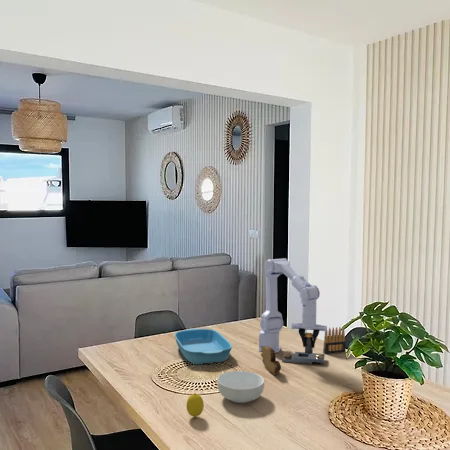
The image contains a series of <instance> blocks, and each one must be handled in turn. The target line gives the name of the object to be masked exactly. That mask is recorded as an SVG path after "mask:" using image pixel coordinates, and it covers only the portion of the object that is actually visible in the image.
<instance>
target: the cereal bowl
mask: <svg viewBox="0 0 450 450" xmlns="http://www.w3.org/2000/svg"><path fill="white" fill-rule="evenodd" d="M216 383H217V389H218V392H219V394H221V396H222V397H224V398H225V399H227V400H230V401H231V402H233V403H236V404H246V403H249V402H251V401H255V400H257V399H258V398H260V397H261V395H262V393H263V392H264V388H265V379H264V377H263V376H261V375H260V374H257V373H255V372H251V371H245V370H233V371H232V370H231V371H226V372H223V373H221V374H220V375H219V376H218V377H217V381H216Z"/></svg>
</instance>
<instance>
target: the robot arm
mask: <svg viewBox="0 0 450 450" xmlns="http://www.w3.org/2000/svg"><path fill="white" fill-rule="evenodd" d="M290 265H291V263H290V261H289V260H288V259H287V258H286V257H285V258H284V257H282V258H274V259H273V258H269V259H267V260H266V261H265V262H264V276H265V299H266V300H265V302H266V304H265V305H266V307H265V308H266V309H265V311H263V313H262V314H261V319H260V322H259V324H260V328H261V330H259V334H258V351H259V352H262V346H269V347H271V348H272V349H273V350H274V351H275V353H280V350H281V348H282V347H281V345H280V332H281V330H282V329H283V327H284V320H283V315H282V313H281V312H280V311H278V307H279V306H278V277H280V276H281V275H285V277H287V278H288V279H289V280H290V281H291V286H292V287H294V288H295V290H296V291H297V292H298V293H299V298H300V299H301V301H300V302H301V304H302V310H301V311H302V312H301V313H302V314H301V315H302V323H293V322H292V323H291V330H298V334H299V336H300V339H301V341H302V347H303V348H305V333H306V331H307V330H308V331H312V334H313V346H312V348H313V349H315V346H316V341H317V339H318V336H319V334H320V331H321V332H324V333H325V332H328V326H327V325H322V324H318V323H317V300H318V299H319V298H320V295H321V294H320V293H321V292H320V290H319V287H318V286H317V285H315V284H311V283H310V282H308V281H307V280H306V279H305V277H304V276H303V275H301V274H300V275H298V274H297V273H296V271H295V270H294V269H293V268H292V267H291V266H290Z"/></svg>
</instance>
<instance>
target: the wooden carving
mask: <svg viewBox="0 0 450 450" xmlns="http://www.w3.org/2000/svg"><path fill="white" fill-rule="evenodd" d="M261 352H262V353H260V357H262V360H261V361H262V364H263V366H264V367H265V369H266V370H267V371H268V372H269V373H272V374H273V375H274V376H276V375H278V374H280V373H281V372H280V371H281V370H282V367H281V363H280V361H279V360H276V359H277V358H276V356H277V355H276V354H277V352H275V351H274V350H273V349H272V348H271V347H269V346H262V351H261Z"/></svg>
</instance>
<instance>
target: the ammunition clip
mask: <svg viewBox="0 0 450 450" xmlns="http://www.w3.org/2000/svg"><path fill="white" fill-rule="evenodd" d="M338 328H339V329H338ZM345 331H346V330H345V329H344V330H343V331H342V328H341V326H339V327H337V326H336V327H335V328H334V327H332V328H331V327H329V328H328V331H327V332H324V340H323V349H322V350H323V351H322V354H325V355H328V354H329V355H331V354H340V353H341V354H342V352H343V353H346V349H347V348H346V334H345Z"/></svg>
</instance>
